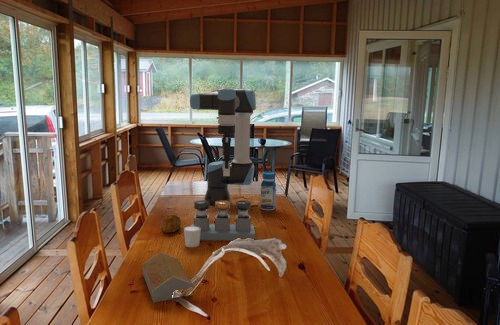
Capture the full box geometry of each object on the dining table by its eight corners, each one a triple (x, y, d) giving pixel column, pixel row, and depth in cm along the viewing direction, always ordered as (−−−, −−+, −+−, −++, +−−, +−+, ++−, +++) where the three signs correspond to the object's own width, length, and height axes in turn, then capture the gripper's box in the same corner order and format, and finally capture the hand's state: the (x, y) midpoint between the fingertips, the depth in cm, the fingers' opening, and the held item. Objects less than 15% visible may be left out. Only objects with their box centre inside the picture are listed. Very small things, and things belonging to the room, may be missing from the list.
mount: (191, 230, 176) (191, 212, 174) (253, 230, 177) (253, 212, 176) (188, 240, 164) (188, 220, 163) (255, 240, 165) (255, 221, 164)
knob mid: (215, 216, 172) (215, 200, 171) (229, 216, 173) (230, 200, 171) (214, 221, 166) (214, 204, 165) (229, 221, 166) (230, 204, 165)
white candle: (194, 240, 164) (194, 224, 163) (204, 245, 159) (204, 228, 158) (180, 244, 159) (180, 228, 158) (190, 249, 154) (190, 232, 153)
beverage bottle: (278, 209, 212) (279, 173, 209) (266, 211, 207) (267, 174, 204) (269, 205, 219) (270, 170, 216) (257, 207, 214) (257, 172, 211)
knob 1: (194, 216, 172) (194, 200, 171) (209, 216, 172) (209, 200, 171) (193, 221, 166) (193, 204, 164) (208, 221, 166) (208, 204, 165)
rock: (160, 238, 177) (162, 218, 182) (178, 240, 179) (180, 220, 184) (162, 228, 168) (164, 207, 174) (181, 230, 170) (183, 209, 176)
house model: (193, 296, 119) (193, 273, 118) (152, 304, 114) (151, 280, 113) (178, 269, 137) (178, 249, 136) (142, 275, 132) (141, 254, 131)
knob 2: (235, 216, 173) (235, 200, 172) (250, 216, 173) (250, 200, 172) (235, 221, 167) (236, 204, 165) (250, 221, 167) (251, 204, 166)
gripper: (217, 122, 181) (217, 167, 184) (218, 126, 156) (217, 178, 160) (233, 123, 181) (233, 167, 185) (236, 127, 157) (236, 178, 160)
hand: (226, 172), depth 172 cm, fingers open, 13 cm apart
